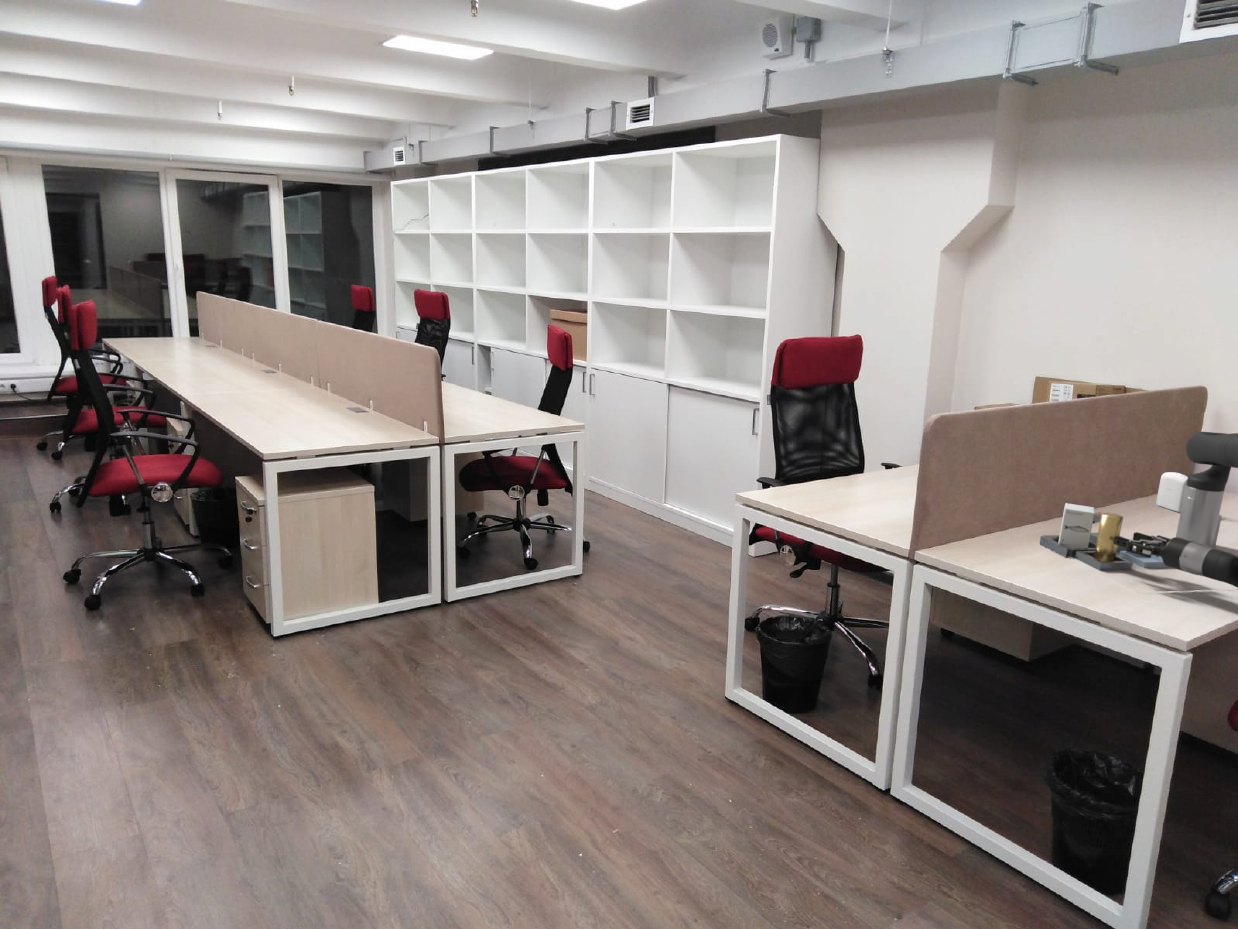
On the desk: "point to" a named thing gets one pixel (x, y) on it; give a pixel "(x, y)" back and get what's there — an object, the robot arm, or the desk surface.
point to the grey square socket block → (1094, 538)
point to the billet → (1108, 536)
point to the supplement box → (1076, 526)
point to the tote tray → (1143, 560)
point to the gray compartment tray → (1084, 554)
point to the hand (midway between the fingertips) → (1124, 537)
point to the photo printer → (1171, 491)
